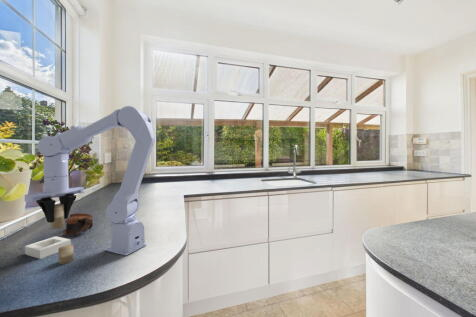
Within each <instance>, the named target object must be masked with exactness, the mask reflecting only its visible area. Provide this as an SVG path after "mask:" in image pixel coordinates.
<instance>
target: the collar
mask: <svg viewBox="0 0 476 317" xmlns="http://www.w3.org/2000/svg"><path fill="white" fill-rule="evenodd" d="M65 245H72V239H70V238H66V237H63V236H62V237H61V236H57V235H56V236H52V237H49V238H46V239H43V240H40V241H37V242H33V243H30V244H27V245H25V246H24V254H25V256H26V255H27V256H30V257H33V258H36V259H39V260H40V259H45V258H47V257H50V256H52V255H55V254H59V251H58V249H59V248H60V247H62V246H65Z"/></svg>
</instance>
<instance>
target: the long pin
mask: <svg viewBox="0 0 476 317" xmlns="http://www.w3.org/2000/svg"><path fill="white" fill-rule="evenodd" d="M65 220H66V219H64V204H60V203H55V206H54V222H52V223H50V229H52V230H59V229H64V227H65V228H66V222H65Z"/></svg>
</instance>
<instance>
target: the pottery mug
mask: <svg viewBox="0 0 476 317" xmlns="http://www.w3.org/2000/svg"><path fill="white" fill-rule="evenodd" d="M65 220H66V221H65V229H63V231H62V237H63V236H65V237H66V236H79V233H80V232H82V233H85V232H87V231H88V229H89V228H90V229H91V228H93V226H94V223H93V215H91V214H89V213H83V212H82V213H76V212H75V213H72V214H69V217H68V218H67V219H65Z"/></svg>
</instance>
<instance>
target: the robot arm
mask: <svg viewBox="0 0 476 317" xmlns="http://www.w3.org/2000/svg"><path fill="white" fill-rule="evenodd" d="M115 128H122V129H123V128H124V129H126V130H127V131H128V132H129V133H130V134H131V136H132V137H133V139H134V140H135V141H134V146H133V149H132V152H131V153H130V157H129V160H128V164H127V166H126V170H125V173H124V176H123V178H122V182H121V184H120V188H119V189H118V191H117V192H116V194H115V195H114V196H113V198H112V201H111V202H110V204H108V205H107V207H106V208H105V216H106V219H107V220H108V221H109V222H110V243H111V244H110V246H108V247H105V248H104V251H105V252H108V253H109V252H110V253H114V254H118V255H122V256H128V255H130V254H132V253H134V252H135V251H138V250H140V249H141V248H143V247H145V246H147V245H148V244H147V242H146V241H145V226H144V223H143V222H141V221H139V220H138V218H137V214H136V213H137V211H138V210H139V207H140V203H139V198H140V194H139V189H140V187H141V184H142V180H143V177H144V175H145V172H146V168H147V167H148V166H147V165H148V163H149V160H150V157H151V154H152V150H153V148H154V144H155V142H156V137H155V135H154V134H155V133H154V128H153V121H152V119H151V118H150V117H149V116H148V114H147V113H145V112H144V111H141V110H139V109H137V108H135V107H134V106H130V105H127V106H123V107H122V108H120V109H115V110H114V111H113V112H112V113H109V114H108V115H106V116H104V117H102V118H100V119H98V120H97V121H94V122H93V123H91V124H88V125H87V126H82V125H71V126H70V129H67V130H66V131H63V132H57V133H55V136H49V135H45V136H44V137H42V138H41V139H39V141H38V142H37V150H38V152H39V153H40V155H42V156H43V160H42V161H43V184H44V185H43V187H44V190H43V191H37V192H33V193H27V194H24V202H27V203H30V202H34V201H36V204H37V205H38V206H39V207H40V209H41V210H42V212H43V214H44V217H45V219H46V222H47V223H50V224H51V223H52V222H54V206H55V204H56V200H55V199H54V198H58V200H59V204H64V220H67V219H68V218H69V216H70V211H71V210H72V209H71V208H72V206H73V205H74V203H75V201H76V199H77V194H83V193H84V192H85V189H84V187H83V186H76V187H69V185H70V184H69V180H70V179H69V160H70V154H71V153H72V152H73V151H74V150H76V149H78V148H80V147H83V146H85V145H88V144H89V143H91V142H92V141H93V140H92V139H93V137H95V136H97V135H101V134H102V133H105V132H107V131H110V130H112V129H115Z"/></svg>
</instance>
